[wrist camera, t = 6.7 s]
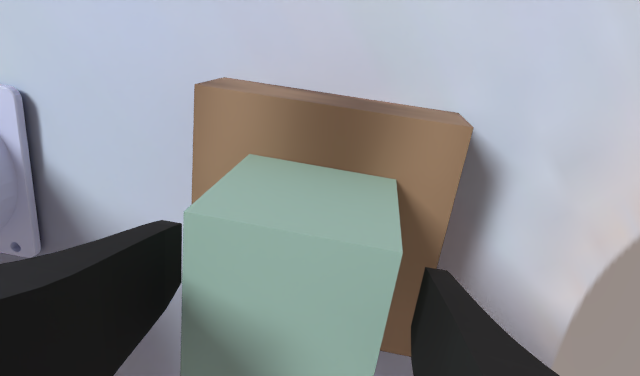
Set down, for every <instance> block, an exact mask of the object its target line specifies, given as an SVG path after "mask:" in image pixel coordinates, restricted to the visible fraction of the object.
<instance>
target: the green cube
mask: <svg viewBox="0 0 640 376" xmlns="http://www.w3.org/2000/svg"><path fill="white" fill-rule="evenodd" d="M402 254H403V250H402V239H401V228H400V217H399V206H398V194H397V183H396V179H390V178H384V177H378V176H373V175H367V174H361V173H356V172H350V171H344V170H338V169H333V168H327V167H321V166H316V165H310V164H304V163H298V162H293V161H287V160H281V159H276V158H270V157H264V156H258V155H253V154H249V155H248V156H246V157H245V158H244V159H243V160H242V161H241V162H240V163H238V164H237V165H236V166H235V167H234V168H233V169H232V170H230V171H229V172H228V173H227V174H226V175H225V176H224V177H222V178H221V179H220V180H219V181H218V182H217V183H216V184H215V185H213V186H212V187H211V188H210V189H209V190H208V191H207V192H205V193H204V194H203V195H202V196H201V197H200V198H199V199H197V200H196V201H195V202H194V203H193V204H192V205H191V206H190V207H188V208H187V209H186V210H185V211H184V228H183V276H182V324H181V372H180V376H374V372H375V368H376V364H377V360H378V356H379V351H380V347H381V343H382V339H383V334H384V330H385V326H386V322H387V318H388V313H389V309H390V305H391V301H392V296H393V292H394V288H395V284H396V280H397V275H398V271H399V267H400V263H401V258H402Z"/></svg>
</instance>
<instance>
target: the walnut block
mask: <svg viewBox="0 0 640 376" xmlns="http://www.w3.org/2000/svg"><path fill="white" fill-rule="evenodd" d="M472 131H473V127H472V126H471V125H470V124H469V123H468V122H467V121H466V120H465V119H464V118H463V117H462V116H461V115H460V114H459V113H455V112H448V111H442V110H435V109H428V108H422V107H415V106H409V105H402V104H396V103H389V102H382V101H376V100H369V99H363V98H356V97H350V96H343V95H336V94H330V93H323V92H317V91H310V90H304V89H297V88H291V87H284V86H277V85H271V84H264V83H258V82H251V81H245V80H238V79H231V78H225V77H224V78H219V79H215V80H211V81H207V82H202V83H198V84H195V89H194V129H193V170H192V204H193V203H194V202H195V201H196V200H197V199H199V198H200V197H201V196H202V195H203V194H204V193H205V192H207V191H208V190H209V189H210V188H211V187H212V186H213V185H215V184H216V183H217V182H218V181H219V180H220V179H221V178H222V177H224V176H225V175H226V174H227V173H228V172H229V171H230V170H232V169H233V168H234V167H235V166H236V165H237V164H238V163H240V162H241V161H242V160H243V159H244V158H245V157H246V156H248V155H249V154H253V155H258V156H264V157H270V158H276V159H281V160H287V161H293V162H298V163H304V164H310V165H316V166H321V167H327V168H333V169H338V170H344V171H350V172H356V173H361V174H367V175H373V176H378V177H384V178H390V179H396V183H397V194H398V206H399V217H400V228H401V239H402V250H403V254H402V258H401V263H400V267H399V271H398V275H397V280H396V284H395V288H394V292H393V296H392V301H391V305H390V309H389V313H388V318H387V322H386V326H385V330H384V334H383V339H382V343H381V347H380V351H385V352H390V353H395V354H400V355H405V356H409V357H411V324H412V319H413V315H414V311H415V307H416V303H417V299H418V295H419V291H420V286H421V282H422V278H423V274H424V270H425V267H429V268H434V269H436V268H437V264H438V260H439V257H440V253H441V249H442V245H443V241H444V238H445V234H446V230H447V226H448V222H449V219H450V215H451V211H452V207H453V203H454V200H455V196H456V192H457V188H458V184H459V181H460V177H461V173H462V169H463V165H464V162H465V158H466V154H467V150H468V146H469V143H470V139H471V135H472Z"/></svg>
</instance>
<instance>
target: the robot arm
mask: <svg viewBox="0 0 640 376" xmlns="http://www.w3.org/2000/svg"><path fill="white" fill-rule="evenodd" d="M18 244H19V245H20V246H19V245H18ZM181 249H182V224H181V223H175V222H170V221H164V220H161V221H156V222H152V223H148V224H145V225H142V226H139V227H135V228H132V229H129V230H126V231H123V232H120V233H117V234H114V235H111V236H108V237H105V238H102V239H99V240H96V241H93V242H89V243H86V244H83V245H79V246H76V247H73V248H69V249H66V250H62V251H59V252H55V253H51V254H47V255H43V256H38V257H34V256H35V255H37V254H39V252H40V251H41V244H40V236H39V229H38V221H37V213H36V205H35V197H34V189H33V181H32V173H31V165H30V157H29V150H28V142H27V134H26V126H25V118H24V110H23V102H22V97H21V94H20V93H19V91H18V90H17V89H15V88H14V87H12V86H9V85H2V84H0V253H5V254H11V255H16V256H21V257H26V258H29V259H25V260H20V261H15V262H9V263H3V264H0V376H113V375H114V374H115V373H116V371H117V370H118V369H119V367H120V366H121V365H122V364H123V363H124V361H125V360H126V359H127V358H128V356H129V355H130V354H131V353H132V351H133V350H134V349H135V348H136V346H137V345H138V344H139V343H140V341H141V340H142V339H143V338H144V336H145V335H146V334H147V333H148V331H149V330H150V329H151V328H152V326H153V325H154V324H155V323H156V321H157V320H158V319H159V317H160V316H161V315H162V314H163V312H164V311H165V310H166V308H167V306H168V305H169V303H170V301H171V300H172V298H173V296H174V295H175V293H176V291H177V289H178V287H179V286H180V284H181ZM32 257H34V258H32ZM411 360H412V368H413V375H414V376H559V375H558V374H556V373H555V372H554V371H552V370H551V369H550V368H548V367H547V366H546V365H544V364H543V363H542V362H541V361H539V360H538V359H537V358H536V357H534V356H533V355H532V354H531V353H529V352H528V351H527V350H526V349H524V348H523V347H522V346H521V345H520V344H518V343H517V342H516V341H515V340H514V339H513V338H512V337H511V336H510V335H508V334H507V333H506V332H505V331H504V330H503V329H502V328H501V327H500V326H499V325H498V324H497V323H496V322H495V321H494V320H493V319H492V318H491V317H490V316H489V315H488V314H487V313H486V312H485V311H484V310H483V309H482V308H481V307H480V306H479V305H478V304H477V303H476V302H475V301H474V299H473V298H472V297H471V296H470V295H469V294H468V293H467V292H466V291H465V289H464V288H463V287H462V286H461V285H460V284H459V283H458V282H457V281H456V279H455V278H454V277H453V276H452V275H451V274H450V273H449V272H448V271H445V270H440V269H434V268H429V267H425V270H424V274H423V278H422V282H421V286H420V291H419V295H418V299H417V303H416V307H415V311H414V315H413V319H412V324H411Z"/></svg>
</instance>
